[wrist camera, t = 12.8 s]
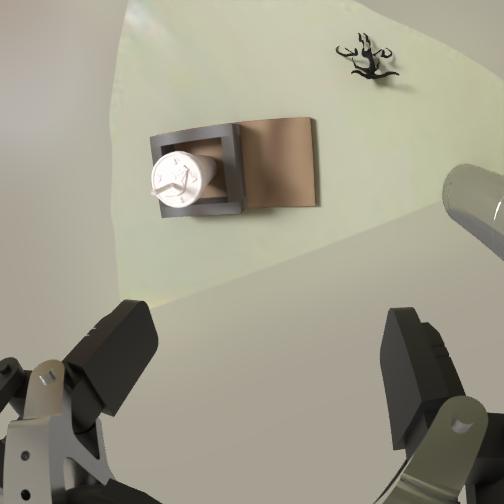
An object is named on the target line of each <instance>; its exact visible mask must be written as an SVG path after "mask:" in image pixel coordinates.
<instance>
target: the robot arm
mask: <svg viewBox="0 0 504 504" xmlns="http://www.w3.org/2000/svg"><path fill="white" fill-rule="evenodd" d="M443 203H444V207H445V209H446V212H447V213H448V215H449V216H450V217H451V218H452V219H453V220H454V221H455V222H457V223H458V224H459V225H461V226H462V227H463V228H464V229H466V230H467V231H468V232H470V233H471V234H472V235H473V236H475V237H476V238H477V239H478V240H480V241H481V242H482V243H483V244H485V245H486V246H487V247H488V248H489V249H490V250H492V251H493V252H494V253H495V254H496V255H497V256H498V257H500V258H501V259H502V260H503V261H504V176H503V175H500V174H497V173H495V172H492V171H489V170H486V169H483V168H480V167H477V166H473V165H469V164H464V165H460V166H458V167H456V168H455V169H453V170H452V171H451V172H450V174H449V175H448V177H447V179H446V181H445V184H444V187H443ZM157 347H158V335H157V332H156V329H155V326H154V323H153V320H152V317H151V314H150V310H149V307H148V305H147V303H146V302H144V301H137V300H127V299H126V300H123V301H122V302H121V303H120V304H119V305H118V306H117V307H116V309H114V310H113V312H112V313H110V314H109V315H107V316H105V317H104V318H102V319H101V320H100V321H99V322H98V323H97V324H96V325H95V326H94V329H92V330H90V331H89V333H88V334H87V336H85V337H84V338H83V339H82V340H81V341H80V342H79V343H78V344H77V345H76V346H75V348H74V349H73V350H72V351H71V352H70V353H69V354H68V355H67V356H66V357H65V358H64V360H63V361H62V362H61V361H59V360H48V361H45V362H43V363H41V364H39V365H38V366H37V367H36V368H35V369H34V370H33V371H28V370H23V368H22V367H21V365H20V364H19V362H18V360H17V359H15V358H13V357H9V358H5V359H3V360H1V361H0V413H1V411H2V410H3V409H4V407H5V406H6V405H7V403H8V402H9V403H10V405H11V406H12V407H13V408H14V410H15V411H16V412H17V413H18V414H19V418H18V419H17V420H14V421H11V422H10V423H9V425H8V430H7V435H6V436H5V438H4V439H2V440H0V504H162V503H160V502H159V501H157V500H155V499H154V498H152V497H151V496H149V495H148V494H146V493H145V492H142V491H139V490H137V489H134V488H131V487H129V486H127V485H125V484H122V483H120V482H118V481H116V479H115V477H114V475H113V474H112V472H111V471H110V469H109V466H108V463H107V458H106V452H105V446H104V440H103V432H102V424H101V420H100V419H99V417H98V416H99V415H100V413H101V412H102V413H105V414H107V415H110V416H113V417H114V416H115V414H116V413H117V411H118V410H119V408H120V407H121V405H122V403H123V402H124V400H125V399H126V397H127V396H128V394H129V393H130V391H131V389H132V388H133V386H134V385H135V383H136V382H137V380H138V378H139V377H140V375H141V374H142V372H143V371H144V369H145V368H146V366H147V365H148V363H149V362H150V360H151V359H152V357H153V356H154V354H155V352H156V350H157ZM380 365H381V370H382V376H383V381H384V386H385V393H386V399H387V404H388V411H389V418H390V426H391V434H392V442H393V450H400V449H406V460H405V461H404V462H403V464H402V465H401V467H400V468H399V469H398V471H397V472H396V474H395V475H394V477H393V478H392V479H391V481H390V482H389V483H388V485H387V486H386V487H385V489H384V490H383V491H382V493H381V494H380V495H379V496H378V497H377V499H376V500H375V501H374V502H373V503H372V504H460V502H458V496H459V493H460V492H461V490H462V488H463V486H464V485H465V486H466V498H467V504H504V414H500V413H487V412H486V409H485V408H484V406H483V405H482V404H481V403H480V402H479V401H477V400H476V399H474V398H472V397H469V396H466V394H465V392H464V389H463V387H462V384H461V381H460V379H459V376H458V374H457V372H456V369H455V367H454V365H453V363H452V360H451V357H449V353H448V351H447V349H446V347H445V346H444V342H443V340H442V338H441V336H440V334H439V332H438V331H437V330H436V329H435V328H434V327H433V326H431V325H430V324H429V323H428V322H426V323H421V322H420V319H419V318H418V315H417V313H416V311H415V309H414V308H413V307H406V308H390V309H389V311H388V315H387V320H386V325H385V330H384V335H383V339H382V344H381V349H380Z"/></svg>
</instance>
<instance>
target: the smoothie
mask: <svg viewBox="0 0 504 504" xmlns="http://www.w3.org/2000/svg"><path fill="white" fill-rule="evenodd" d="M217 169H218V168H217V164H216V162H215V160H214V159H213V158H211V157H210V156H205V155H191V154H189V153H186V152H183V151H175V152H172V153H169V154H166V155H164V156H163V157H161V158H160V159H159V160H158V161H157V163H156V164H155V166H154V168H153V171H152V186H153V189H154V190H153V191H152V192H151V194H152V195H153V196H155V195H157V197H158V198H159V199H160V200H161V201H162V202H163V203H165V204H166V205H168V206H171V207H175V208H182V207H186V206H188V205H190V204H192V203H194V202H195V201H196V200H198V199H199V198H200V196H201V194H202V193H203V191H204V188H205V187H206V186H207V185H208V184H209V182H210V181H211V180H212V179H213V178H214V177H215V176H216V174H217Z"/></svg>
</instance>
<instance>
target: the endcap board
mask: <svg viewBox="0 0 504 504" xmlns="http://www.w3.org/2000/svg"><path fill="white" fill-rule="evenodd" d="M150 144H151V152H152V159H153V166H155V164H156V163H157V161H158V160H159V159H160V158H161V157H163V156H164V155H166V154H169V153H172V152H175V151H183V152H186V153H189V154H191V155H205V156H210V157H211V158H213V159H214V160H215V162H216V164H217V168H218V169H217V174H216V176H215V177H214V178H213V179H212V180H211V181H210V182H209V184H208V185H207V186H206V187H205V188H204V191H203V193H202V194H201V196H200V198H199V199H198V200H196V201H195V202H194V203H192V204H190V205H188V206H186V207H182V208H175V207H171V206H168V205H166V204H165V203H163V202H162V201H161V200H160V199H159V204H160V210H161V216H162V218H168V217H184V216H201V215H221V214H241V213H242V212H243V211H244V209H245V208H256V207H287V206H315V191H314V169H313V151H312V136H311V123H310V117H299V118H281V119H267V120H255V121H245V122H236V123H228V124H220V125H213V126H206V127H199V128H193V129H187V130H181V131H176V132H171V133H166V134H161V135H156V136H153V137H150Z"/></svg>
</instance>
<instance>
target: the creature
mask: <svg viewBox="0 0 504 504" xmlns="http://www.w3.org/2000/svg"><path fill="white" fill-rule="evenodd" d="M358 34H359V41H360V42H362V43H363V49H362V56H363V57H366V58H368V59H369V61H370V66H369V68H361V67H359V66H356V65H355V63H354V66H355V68H360V69H362V70H363V71H364V72H366V73H367V74H364V73H362V72H361V71H359V70H354V71H352V72H351V74H352V73H359V74H360V75H361V76H363V77H365V78H367V79H378V78H382V77H386V76H388V75H391V74H396V75H399V74H398V73H396V72H386V73H384V74H382V75H376V74H375V73H374V72H375V71H376V70H377V69H378V68H379V67H378V65H377V69H376V68H375V64H374V60H373V55H374V56H375V55H376V54H377V53H378V52H380V51H381V50H382V49H381V50H379V51H378V52H377V53H375V54H372V53H371V48H370V49H369V48H368V50H367V51H364V41H363V40H362V39H361V35H360V33H358ZM363 34H364V35H365V36H366V41H367V42H368V43H369V46H370V43H371V42H370V41H369V39H368V36H367V35H366V34H365V33H363ZM338 47H339V46H338ZM338 47H337V48H338ZM337 48H336V52H337V53H338V54H340V55H342V56H345V57H348V56H357V55H358V51H357V49H356V48H355V53H353V52H351V51H350V52H351V53H350V54H342V53H339V52H338V51H337ZM345 49H346V48H345ZM386 49H387V48H386ZM346 50H348V49H346ZM388 50H389V49H388ZM348 51H349V50H348ZM389 51H390V50H389ZM390 52H391V51H390ZM384 54H385V52H384V50H383V51H382V55H381V57H384V58H389V57H391V56H392V52H391V54H390V55H388V56H386V55H384ZM375 57H376V56H375ZM352 59H353V57H352ZM378 60H379V59H378ZM379 62H380V61H379ZM378 64H379V63H378Z"/></svg>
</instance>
